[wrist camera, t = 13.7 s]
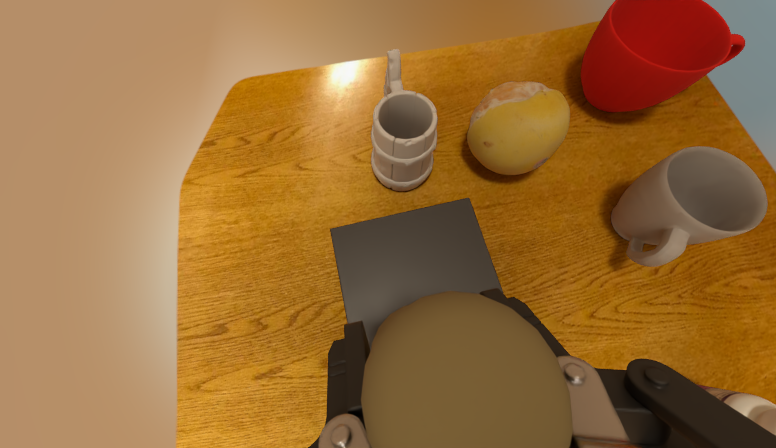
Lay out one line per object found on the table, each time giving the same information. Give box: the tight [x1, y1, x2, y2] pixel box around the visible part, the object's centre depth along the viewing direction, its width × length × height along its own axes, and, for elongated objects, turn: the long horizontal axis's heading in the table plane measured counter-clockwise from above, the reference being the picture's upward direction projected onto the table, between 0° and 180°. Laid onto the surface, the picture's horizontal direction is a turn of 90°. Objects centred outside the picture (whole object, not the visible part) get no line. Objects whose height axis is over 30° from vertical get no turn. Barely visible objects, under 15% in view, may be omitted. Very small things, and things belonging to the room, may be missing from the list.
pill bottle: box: [698, 385, 776, 436], centre depth 25 cm, size 5×5×10 cm
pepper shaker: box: [361, 291, 573, 448], centre depth 11 cm, size 6×6×11 cm
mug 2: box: [611, 147, 767, 266], centre depth 31 cm, size 12×9×10 cm
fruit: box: [467, 81, 570, 175], centre depth 34 cm, size 10×11×10 cm
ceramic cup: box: [581, 0, 745, 112], centre depth 37 cm, size 13×17×10 cm
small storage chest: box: [330, 198, 503, 351], centre depth 28 cm, size 15×13×10 cm
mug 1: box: [371, 49, 438, 191], centre depth 33 cm, size 8×12×12 cm, turn 11°
